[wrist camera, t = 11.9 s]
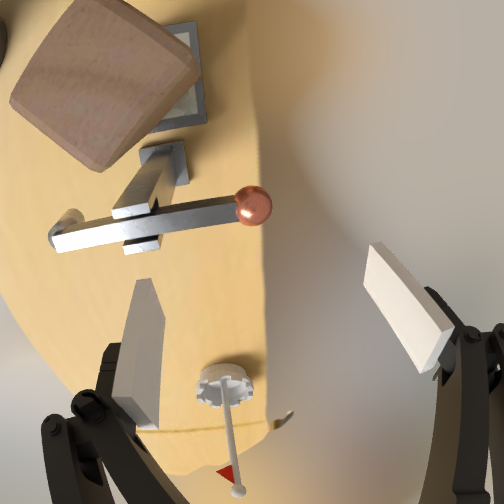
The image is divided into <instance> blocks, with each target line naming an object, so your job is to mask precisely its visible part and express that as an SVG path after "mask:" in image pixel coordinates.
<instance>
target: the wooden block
mask: <svg viewBox="0 0 504 504" xmlns="http://www.w3.org/2000/svg"><path fill="white" fill-rule="evenodd" d="M199 76H200V71H199V67H198V64H197V61H196V58H195V56H194V54H193V52H192V50H191V48H190V47H189V46H188V45H186V44H185V43H184V42H182V41H181V40H180V39H178V38H177V37H176V36H174V35H173V34H172V33H170V32H169V31H168V30H166V29H165V28H163V27H162V26H161V25H159V24H158V23H156V22H155V21H154V20H152V19H151V18H149V17H148V16H146V15H145V14H143V13H142V12H140V11H139V10H137V9H136V8H134V7H133V6H131V5H130V4H128V3H127V2H125V1H123V0H75V1H74V2H73V3H72V4H71V5H70V6H69V8H68V9H67V10H66V11H65V12H64V14H63V15H62V16H61V17H60V19H59V20H58V21H57V23H56V24H55V25H54V27H53V28H52V29H51V31H50V32H49V33H48V35H47V36H46V37H45V39H44V40H43V42H42V43H41V45H40V46H39V48H38V49H37V51H36V52H35V54H34V55H33V57H32V58H31V60H30V62H29V63H28V65H27V67H26V68H25V70H24V72H23V73H22V75H21V77H20V79H19V80H18V82H17V84H16V86H15V88H14V90H13V91H12V93H11V97H10V101H9V103H10V105H11V107H12V108H13V109H14V110H15V111H17V112H18V113H19V114H20V115H21V116H23V117H24V118H25V119H26V120H28V121H29V122H30V123H31V124H33V125H34V126H35V127H36V128H38V129H39V130H40V131H41V132H43V133H44V134H45V135H46V136H48V137H49V138H50V139H51V140H53V141H54V142H55V143H56V144H58V145H59V146H60V147H62V148H63V149H64V150H65V151H67V152H68V153H69V154H70V155H72V156H73V157H74V158H76V159H77V160H78V161H80V162H81V163H82V164H83V165H85V166H86V167H87V168H89V169H90V170H93V171H95V172H98V173H102V172H103V171H105V170H106V169H108V168H109V167H111V166H112V165H113V164H114V163H115V162H116V161H117V160H118V159H119V158H121V157H122V156H123V155H124V154H125V153H126V152H127V151H128V150H130V149H131V148H132V147H133V146H134V145H135V144H136V143H138V142H139V141H140V140H141V139H142V138H144V137H145V136H146V135H147V134H148V133H150V132H151V131H152V130H153V129H154V128H155V127H156V126H157V125H158V124H159V122H160V121H161V120H162V119H163V118H164V116H165V115H166V114H167V113H168V112H169V111H170V110H171V108H172V107H173V106H174V105H175V104H176V103H177V102H178V101H179V100H180V98H181V97H182V96H183V95H184V94H185V93H186V92H187V91H188V90H189V89H190V88H191V87H192V86H193V85H194V84H195V82H196V81H197V80H198V79H199Z"/></svg>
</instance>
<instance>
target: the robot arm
mask: <svg viewBox="0 0 504 504" xmlns="http://www.w3.org/2000/svg"><path fill="white" fill-rule="evenodd" d="M6 43H7V32H6V27H5V24H4V22H3V20H2V19H1V18H0V66H1V63H2V61H3V57H4V54H5V49H6ZM363 285H364V287H365V288H366V290H367V291H368V292H369V294H370V295H371V297H372V298H373V300H374V301H375V303H376V304H377V306H378V307H379V309H380V310H381V312H382V313H383V315H384V316H385V318H386V319H387V321H388V322H389V324H390V326H391V327H392V329H393V330H394V332H395V333H396V335H397V337H398V338H399V340H400V341H401V343H402V345H403V346H404V348H405V349H406V351H407V353H408V354H409V356H410V357H411V359H412V361H413V362H414V364H415V366H416V367H417V369H418V371H419V372H420V373H422V372H425V371H427V370H429V369H432V368H433V367H434V365H435V363H436V362H437V360H438V361H439V363H440V364H441V365H440V367H439V369H438V370H437V372H436V373H435V375H434V377H433V380H435V379H436V377H437V376H438V389H437V403H436V415H435V423H434V431H433V438H432V445H431V451H430V457H429V462H428V468H427V472H426V477H425V481H424V486H423V489H422V493H421V498H420V501H419V504H490V498H491V497H490V494H489V493H488V492H487V491H485V488H484V486H485V478H486V470H487V460H488V448H489V450H490V458H491V467H492V477H493V493H494V504H504V324H503V323H499V324H497V325H496V326H495V327H494V329H493V331H492V332H482V333H481V332H480V331H479V330H478V329H477V328H475V327H472V326H465V325H464V324H463V323H462V322H461V320H460V319H459V318H458V317H457V315H456V314H455V313H454V312H453V310H452V309H451V308H450V307H449V306H447V303H446V302H445V301H444V300H443V299H442V298H441V297H440V295H439V294H438V293H437V292H436V291H435V290H433V289H431V288H430V287H428V286H427V287H424V288H423V287H422V286H421V285H420V283H419V282H418V281H417V280H416V279H415V278H414V277H413V275H412V274H411V273H410V272H409V271H408V270H407V269H406V268H405V267H404V265H403V264H402V263H401V262H400V261H399V260H398V259H397V258H396V257H395V256H394V254H393V253H392V252H391V251H390V250H389V249H388V248H387V247H386V246H385V245H384V244H383V243H382V242H379V243H373V244H370V246H369V253H368V259H367V266H366V272H365V278H364V283H363ZM164 328H165V316H164V313H163V310H162V308H161V305H160V302H159V300H158V297H157V294H156V291H155V288H154V285H153V283H152V280H151V278H148V279H141V280H137V281H136V284H135V288H134V292H133V296H132V300H131V304H130V308H129V312H128V316H127V320H126V324H125V329H124V333H123V338H122V342H120V343H110V344H109V345H108V347H107V348H106V350H105V351H104V353H103V357H102V362H101V363H102V364H101V366H100V372H99V375H98V380H97V384H96V389H95V391H94V390H92V389H85V390H83V391H80V392H79V393H78V394H76V395H75V397H74V398H73V400H72V403H71V411H72V413H73V414H74V415H75V417H71V418H67V419H65V418H63V417H62V416H61V415H59V414H51V415H49V416H47V417H46V418H45V419H44V421H43V423H42V425H41V435H42V445H43V453H44V461H45V467H46V473H47V479H48V484H49V490H50V494H51V498H52V503H53V504H115V502H114V499H113V496H112V493H111V490H110V487H109V484H108V481H107V478H106V474H105V471H104V467H103V464H102V462H103V463H104V465H105V467H106V469H107V470H108V472H109V474H110V476H111V478H112V479H113V481H114V482H115V484H116V486H117V487H118V489H119V491H120V492H121V494H122V495H123V497H124V498H125V500H126V501H127V503H128V504H190V503H189V502H188V501H187V500H186V499H185V498H184V497H183V495H182V494H181V493H180V492H179V490H178V489H177V488H176V487H175V486H174V484H173V483H172V482H171V481H170V479H169V478H168V477H167V476H166V474H165V473H164V472H163V470H162V469H161V468H160V466H159V465H158V464H157V462H156V461H155V460H154V458H153V457H152V455H151V454H150V453H149V451H148V450H147V448H146V447H145V445H144V444H143V442H142V441H141V439H140V438H139V436H138V435H137V434H136V433H135V432H136V425H137V426H138V427H139V428H140V429H141V430H159V400H160V380H161V365H162V351H163V339H164ZM498 364H499V365H500V368H501V369H500V370H498V369H497V365H498Z"/></svg>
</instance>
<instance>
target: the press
mask: <svg viewBox="0 0 504 504" xmlns="http://www.w3.org/2000/svg"><path fill="white" fill-rule="evenodd" d="M163 28H165V29H166V30H168V31H169V32H170V33H172V34H173V35H174V36H176V37H177V38H178V39H180V40H181V41H182V42H184V43H185V44H186V45H188V46H189V47H190V48H191V50H192V52H193V54H194V56H195V58H196V61H197V64H198V67H199V71H200V76H199V79H198V80H197V81H196V82H195V84H194V85H193V86H192V87H191V88H190V89H189V90H188V91H187V92H186V93H185V94H184V95H183V96H182V97H181V98H180V100H179V101H178V102H177V103H176V104H175V105H174V106H173V107H172V108H171V110H170V111H169V112H168V113H167V114H166V115H165V116H164V118H163V119H162V120H161V121H160V122H159V124H158V125H157V126H156V127H155V128H154V129H153V130H152V131H151V132H150V133H155V132H160V131H165V130H170V129H176V128H181V127H187V126H193V125H199V124H206V123H207V115H206V107H205V99H204V90H203V82H202V73H201V64H200V54H199V45H198V35H197V25H196V21H192V22H185V23H179V24H174V25H168V26H163ZM150 133H148V134H150ZM139 156H140V160H141V165H142V167H141V168H140V170H139V171H138V172H137V174H136V175H135V177H134V178H133V179H132V181H131V182H130V184H129V185H128V186H127V188H126V189H125V191H124V192H123V194H122V195H121V196H120V198H119V199H118V201H117V202H116V204H115V205H114V207H113V208H112V210H111V211H112V214H113V217H114V219H119V218H124V217H129V216H134V215H140V214H145V213H150V212H151V210H152V208H157V207H162V206H168V205H171V201H172V197H173V193H174V190H175V186H181V185H187V184H190V179H189V173H188V167H187V161H186V155H185V149H184V142H183V140H181V141H175V142H170V143H164V144H159V145H154V146H150V147H145V148H140V149H139ZM163 234H164V233H163ZM163 234H157V235H151V236H146V237H140V238H134V239H129V240H125V242H124V245H123V248H124V251H125V254H126V255H127V254H133V253H139V252H145V251H151V250H157V249H160V247H161V242H162V238H163Z"/></svg>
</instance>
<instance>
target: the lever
mask: <svg viewBox="0 0 504 504" xmlns="http://www.w3.org/2000/svg"><path fill="white" fill-rule="evenodd" d="M272 209H273V204H272V199H271V197H270V195H269V194H268V192H267V191H266V190H264V189H263V188H261V187H259V186H246V187H243V188H242V189H240V190H239V191H238V192H237V193H236V194H235V195H231V196H224V197H217V198H210V199H204V200H198V201H192V202H186V203H180V204H174V205H168V206H162V207H157V208H152V210H151V212H150V213H145V214H140V215H134V216H129V217H124V218H119V219H114V217H113V216H111V217H106V218H102V219H97V220H92V221H88V222H85V220H84V216H83V214H82V213H81V212H80V211H79V210H77V209H69V210H67V211H66V212H65V214H64V215H63V216H62V217H61V218H60V219H59V220H58V222H57V223H56V224H55V225H54V226H53V227H52V229H51V230H50V231H49V233H48V240H49V243H50V244H51V246H52V247H53V248H54V249H56V250H57V252H58V253H61V252H65V251H70V250H76V249H81V248H86V247H91V246H96V245H101V244H107V243H112V242H118V241H123V240H129V239H134V238H140V237H146V236H151V235H157V234H163V233H169V232H175V231H181V230H187V229H194V228H200V227H206V226H213V225H219V224H226V223H233V222H240V223H242V224H244V225H247V226H258V225H260V224H262V223H264V222H265V221H266V220H267V219H268V218H269V217H270V215H271V213H272Z"/></svg>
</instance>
